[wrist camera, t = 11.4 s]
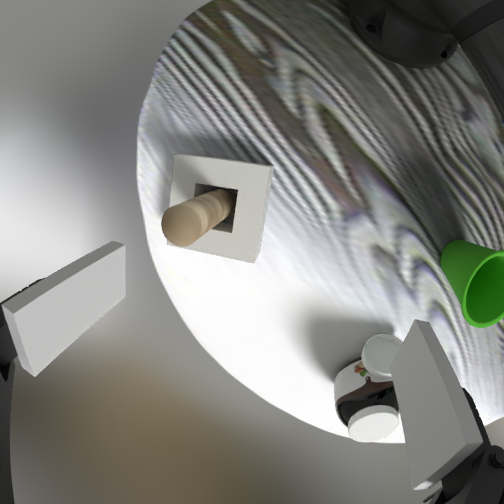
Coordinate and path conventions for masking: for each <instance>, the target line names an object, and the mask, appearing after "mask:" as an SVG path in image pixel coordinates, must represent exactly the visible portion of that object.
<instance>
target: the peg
mask: <svg viewBox="0 0 504 504" xmlns="http://www.w3.org/2000/svg"><path fill="white" fill-rule="evenodd" d="M236 202H237V200H236V197H235V195H234V193H233V192H232V191H231V190H229V189H227V188H219V189H216V190H213V191H210V192H208V193H205V194H202V195H200V196H197V197H195V198H192V199H189V200H187V201H184V202H182V203H179V204H177V205H174V206H172V207H170V208H169V209H167V210H166V212H165V213H164V215H163V217H162V222H161V226H162V231H163V233H164V236H165V237H166V238H167V240H168V241H169V242H171V243H172V244H174V245H176V246H180V247H185V246H189V245H191V244H193V243H194V242H195V241H196V240H198V239H199V238H200V237H202V236H203V235H204V234H205V233H207V232H208V231H209V230H211V229H212V228H213V227H214V226H216V225H217V224H218V223H220V222H221V221H222V220H224V219H225V218H226V217H228V216H229V215H230V214H231V213H233V212H234V210H235V208H236Z"/></svg>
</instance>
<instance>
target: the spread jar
mask: <svg viewBox="0 0 504 504" xmlns="http://www.w3.org/2000/svg"><path fill="white" fill-rule="evenodd" d="M402 344H403V342H402V341H401V340H400V339H399V338H397V337H396V336H393V335H391V334H377V335H374V336H372V337H371V338H370V339H368V341H367V342H366V344H365V346H364V348H363V351H362V355H361V357H360V358H358V359H355V360H354V361H352V362H350V363H349V364H347V365H346V366H345V367H344V368H342V369H341V370H340V371H339V373H338V374H337V376H336V379H335V383H334V399H335V408H336V412H337V415H338V417H339V419H340V421H341V422H342V423H343V424H344V425H345V426H346V427H348V433H349V436H350V437H351V438H352V439H354V440H355V441H359V442H373V441H378V440H381V439H383V438H385V437H387V436H389V435H390V434H392V433H393V432H394V431H395V430H396V428H397V427H398V425H399V419H398V415H399V413H400V411H399V406H398V401H397V397H396V393H395V388H394V384H393V380H392V376H391V372H390V368H389V367H390V365H391V364H392V362H393V360H394V358H395V357H396V355H397V353H398V351H399V349H400V348H401V346H402Z"/></svg>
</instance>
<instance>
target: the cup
mask: <svg viewBox="0 0 504 504" xmlns="http://www.w3.org/2000/svg"><path fill="white" fill-rule="evenodd" d="M440 261H441V268H442V270H443V272H444V274H445V276H446V277H447V279H448V281H449V283H450V285H451V286H452V288H453V290H454V292H455V294H456V296H457V298H458V300H459V302H460V304H461V308H462V314H463V316H464V318H465V320H466V321H467V322H468V323H469V324H470V325H472V326H474V327H478V328H485V327H489V326H491V325H493V324H495V323H497V322H498V321H500V320H501V319H502V318H503V317H504V250H499V251H496V250H493V249H490V248H486V247H483V246H480V245H477V244H473V243H470V242H466V241H463V240H455V241H452V242H450V243H449V244H447V245H446V247H445V248H444V250H443V251H442V254H441V259H440Z"/></svg>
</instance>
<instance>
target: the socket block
mask: <svg viewBox="0 0 504 504" xmlns="http://www.w3.org/2000/svg"><path fill="white" fill-rule="evenodd" d="M273 170H274V166H272V165H266V164H260V163H253V162H247V161H240V160H233V159H226V158H218V157H210V156H202V155H193V154H175V155H174V163H173V172H172V182H171V193H170V204H169V208H170V207H172V206H174V205H177V204H179V203H182V202H184V201H187V200H189V199H192V198H195V197H197V196H200V195H202V194H205V193H206V185H212V186H219V187H225V188H231V189H237V190H238V195H237V202H236V209H235V216H234V223H233V224H231V223H226V222H220V223H218V224H217V225H216V226H214V227H213V228H212V229H211V230H209V231H208V232H207V233H205V234H204V235H203V236H202V237H200V238H199V239H198V240H196V241H195V242H194V243H193V244H191V245H189V246H185V247H180V246H176V245H174V244H172V243H171V242H169V241H168V240H167V245H171V246H176V247H180V248H185V249H190V250H194V251H199V252H203V253H208V254H213V255H217V256H222V257H226V258H231V259H236V260H241V261H245V262H250V263H255V261H256V259H257V257H258V255H259V253H260V247H261V242H262V236H263V230H264V224H265V218H266V212H267V206H268V200H269V194H270V188H271V182H272V176H273Z"/></svg>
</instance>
